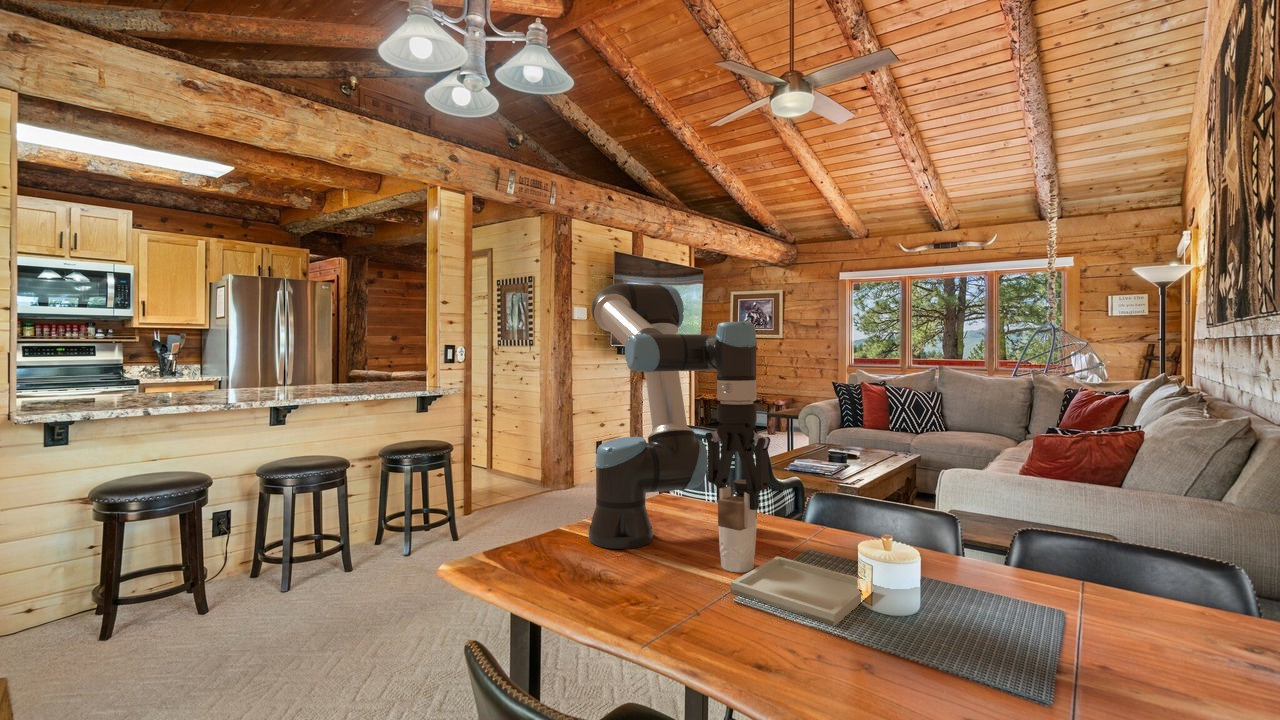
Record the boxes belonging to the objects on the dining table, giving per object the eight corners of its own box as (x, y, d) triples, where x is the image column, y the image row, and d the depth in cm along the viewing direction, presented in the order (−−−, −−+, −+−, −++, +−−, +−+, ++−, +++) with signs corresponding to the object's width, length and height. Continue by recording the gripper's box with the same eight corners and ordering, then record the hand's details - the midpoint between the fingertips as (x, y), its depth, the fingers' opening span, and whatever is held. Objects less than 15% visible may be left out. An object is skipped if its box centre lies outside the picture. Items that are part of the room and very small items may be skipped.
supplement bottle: (753, 525, 155) (753, 478, 154) (759, 534, 148) (760, 484, 147) (726, 525, 154) (726, 478, 154) (731, 534, 147) (732, 485, 147)
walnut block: (718, 526, 117) (717, 499, 117) (733, 521, 121) (732, 495, 121) (739, 530, 114) (739, 503, 114) (754, 525, 117) (754, 499, 117)
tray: (730, 592, 114) (730, 582, 113) (777, 565, 127) (777, 556, 127) (834, 626, 100) (834, 614, 100) (873, 592, 114) (874, 581, 114)
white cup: (759, 574, 123) (760, 525, 122) (720, 573, 123) (720, 524, 122) (753, 560, 130) (753, 513, 130) (716, 559, 131) (716, 513, 130)
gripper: (687, 401, 121) (688, 518, 121) (766, 405, 108) (767, 536, 108) (710, 399, 126) (711, 511, 126) (788, 403, 114) (789, 528, 114)
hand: (737, 523), depth 117 cm, fingers closed on walnut block, 5 cm apart
